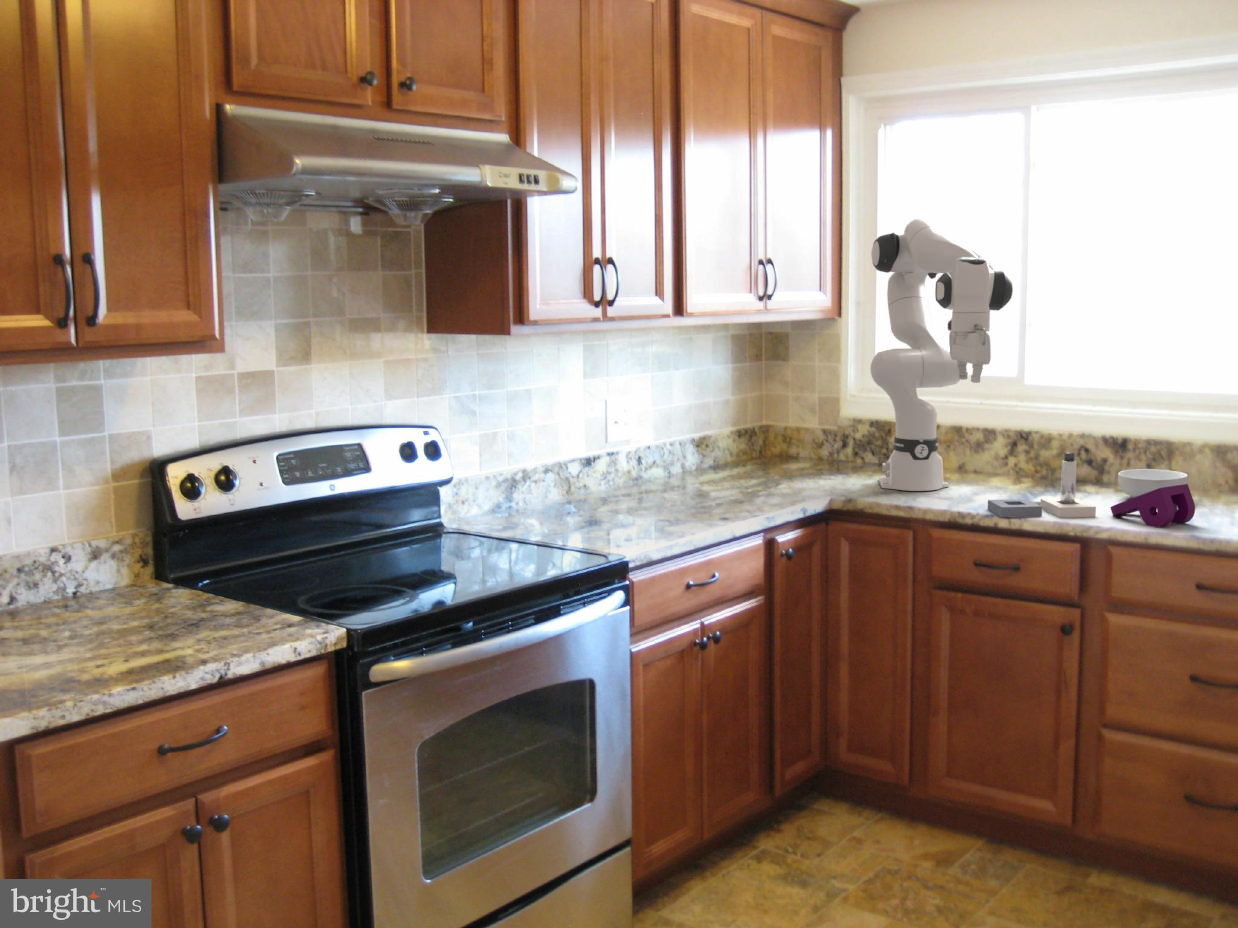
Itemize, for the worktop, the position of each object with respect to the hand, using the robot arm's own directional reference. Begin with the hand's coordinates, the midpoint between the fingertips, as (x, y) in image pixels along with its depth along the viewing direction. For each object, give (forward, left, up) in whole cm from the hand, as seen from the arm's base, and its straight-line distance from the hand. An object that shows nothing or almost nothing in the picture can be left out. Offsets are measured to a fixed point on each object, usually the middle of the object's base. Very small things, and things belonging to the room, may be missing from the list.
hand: (969, 381), depth 297 cm
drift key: (-8, +20, -34) cm, 40 cm away
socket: (+1, +12, -33) cm, 35 cm away
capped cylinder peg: (+2, +25, -33) cm, 41 cm away
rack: (+2, +25, -33) cm, 41 cm away
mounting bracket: (+13, +40, -34) cm, 54 cm away
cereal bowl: (-12, +53, -33) cm, 64 cm away
